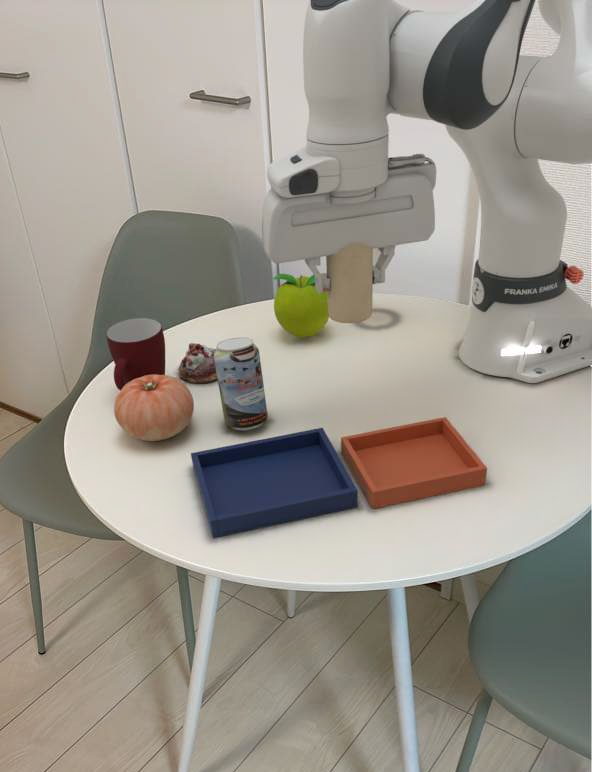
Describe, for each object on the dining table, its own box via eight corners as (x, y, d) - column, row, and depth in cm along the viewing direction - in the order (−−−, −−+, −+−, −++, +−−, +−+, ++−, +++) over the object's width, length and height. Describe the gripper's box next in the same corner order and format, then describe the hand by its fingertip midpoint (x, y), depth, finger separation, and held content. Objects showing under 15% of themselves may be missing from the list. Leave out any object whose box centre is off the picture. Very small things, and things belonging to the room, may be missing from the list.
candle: (321, 321, 93) (318, 239, 87) (337, 303, 97) (335, 223, 90) (364, 326, 91) (363, 242, 85) (378, 307, 95) (378, 226, 89)
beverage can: (236, 441, 102) (225, 361, 94) (214, 417, 107) (203, 339, 99) (277, 428, 104) (270, 347, 96) (254, 405, 109) (246, 327, 101)
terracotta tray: (444, 432, 100) (445, 416, 99) (485, 485, 91) (487, 468, 89) (341, 453, 98) (340, 437, 97) (372, 509, 89) (372, 492, 87)
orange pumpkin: (109, 426, 107) (97, 376, 102) (179, 404, 111) (170, 354, 106) (136, 462, 100) (124, 410, 95) (210, 436, 103) (202, 384, 98)
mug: (156, 415, 109) (142, 352, 102) (105, 412, 110) (88, 349, 104) (181, 380, 116) (170, 319, 110) (132, 377, 118) (119, 316, 112)
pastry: (171, 380, 116) (165, 350, 113) (192, 358, 122) (187, 329, 118) (218, 386, 114) (213, 356, 111) (237, 363, 119) (234, 334, 116)
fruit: (280, 322, 130) (275, 264, 123) (334, 322, 128) (332, 264, 122) (272, 346, 123) (267, 287, 116) (328, 347, 122) (326, 286, 115)
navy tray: (323, 443, 100) (322, 427, 99) (357, 507, 89) (357, 490, 88) (193, 469, 98) (190, 453, 96) (212, 538, 87) (209, 521, 85)
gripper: (426, 144, 86) (421, 264, 95) (252, 168, 84) (263, 289, 93) (448, 158, 82) (440, 282, 91) (264, 183, 79) (274, 309, 88)
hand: (349, 286), depth 92 cm, fingers closed on candle, 5 cm apart
